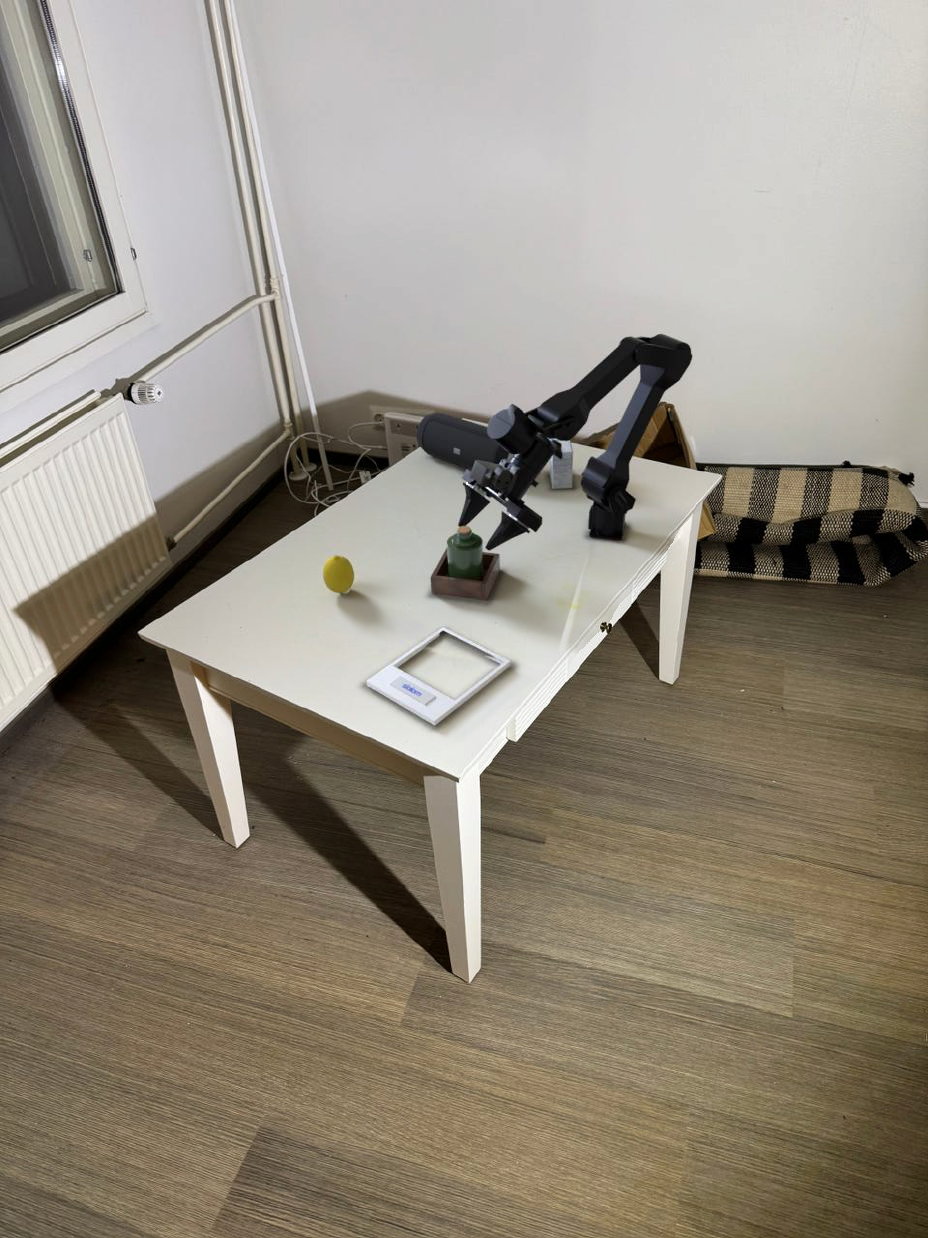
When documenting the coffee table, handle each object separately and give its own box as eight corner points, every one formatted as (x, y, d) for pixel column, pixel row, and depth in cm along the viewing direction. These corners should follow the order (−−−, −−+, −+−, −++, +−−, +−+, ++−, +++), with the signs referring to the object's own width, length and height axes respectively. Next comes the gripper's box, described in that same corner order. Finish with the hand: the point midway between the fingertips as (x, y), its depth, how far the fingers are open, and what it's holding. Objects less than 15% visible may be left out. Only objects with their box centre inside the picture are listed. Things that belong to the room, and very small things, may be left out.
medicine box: (572, 489, 188) (573, 452, 183) (551, 489, 188) (552, 452, 183) (569, 472, 194) (570, 436, 189) (549, 472, 195) (549, 436, 189)
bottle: (487, 573, 162) (486, 521, 155) (478, 593, 157) (477, 540, 150) (454, 569, 163) (451, 518, 157) (444, 588, 159) (441, 536, 152)
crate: (499, 571, 163) (499, 553, 161) (486, 602, 155) (485, 584, 153) (447, 565, 166) (446, 547, 163) (431, 595, 158) (430, 577, 155)
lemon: (351, 603, 157) (346, 565, 152) (321, 600, 158) (315, 563, 153) (360, 585, 161) (355, 548, 156) (331, 583, 162) (325, 546, 157)
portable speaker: (415, 459, 202) (412, 418, 196) (443, 443, 208) (441, 404, 202) (502, 489, 189) (502, 447, 183) (529, 472, 195) (530, 431, 189)
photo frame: (366, 680, 138) (442, 626, 148) (366, 685, 138) (443, 631, 149) (434, 720, 130) (510, 660, 140) (434, 725, 130) (510, 665, 141)
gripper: (469, 425, 155) (418, 497, 157) (529, 464, 142) (472, 542, 144) (506, 454, 162) (457, 523, 164) (566, 494, 149) (512, 568, 151)
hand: (473, 538), depth 156 cm, fingers open, 9 cm apart
